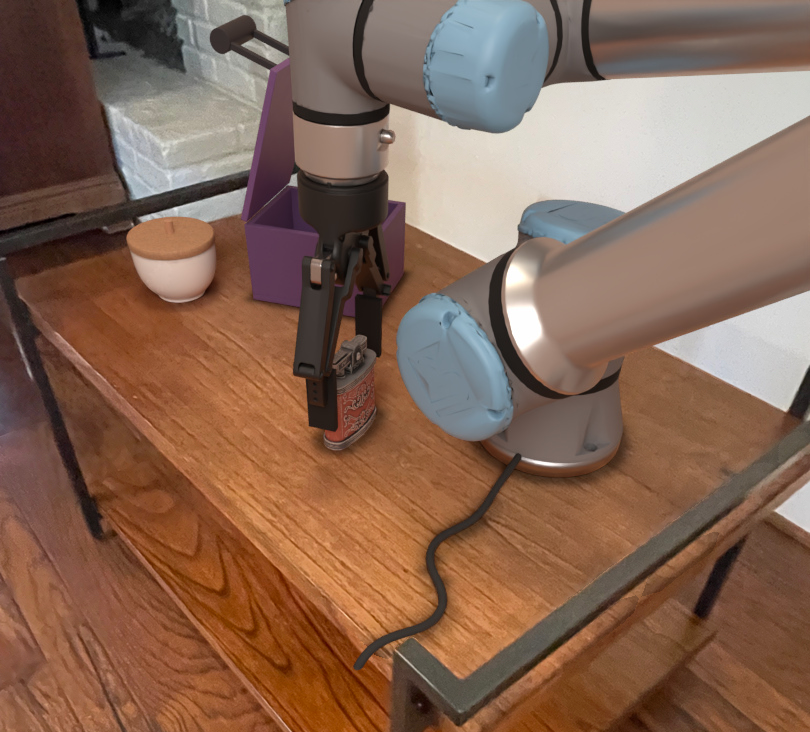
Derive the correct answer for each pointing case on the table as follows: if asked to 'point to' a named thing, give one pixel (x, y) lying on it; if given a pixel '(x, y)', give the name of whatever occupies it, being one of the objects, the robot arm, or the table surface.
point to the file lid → (264, 115)
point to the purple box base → (305, 249)
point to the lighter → (353, 392)
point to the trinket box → (174, 256)
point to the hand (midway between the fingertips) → (347, 388)
